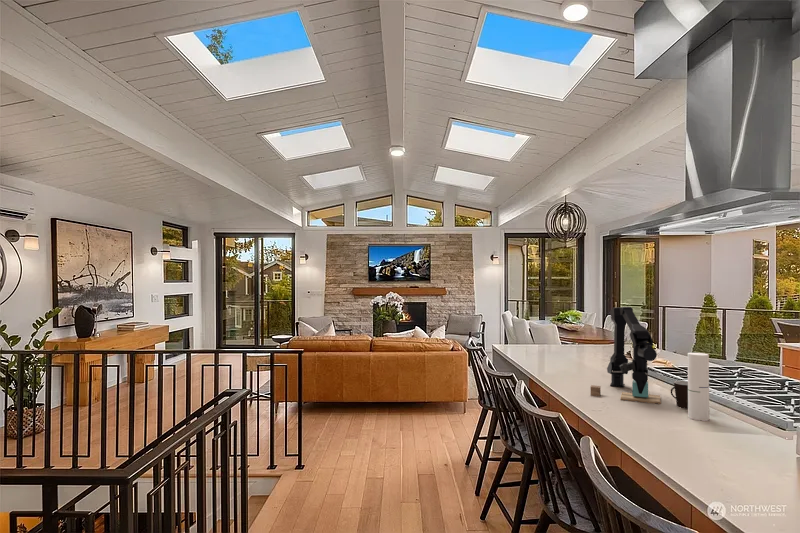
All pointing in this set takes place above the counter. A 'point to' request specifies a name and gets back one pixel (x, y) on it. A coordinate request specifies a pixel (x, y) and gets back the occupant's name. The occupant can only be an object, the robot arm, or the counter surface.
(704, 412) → the cylindrical container
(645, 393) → the tilted teal cube
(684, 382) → the coffee mug
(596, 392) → the walnut block
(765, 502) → the counter surface
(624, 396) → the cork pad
